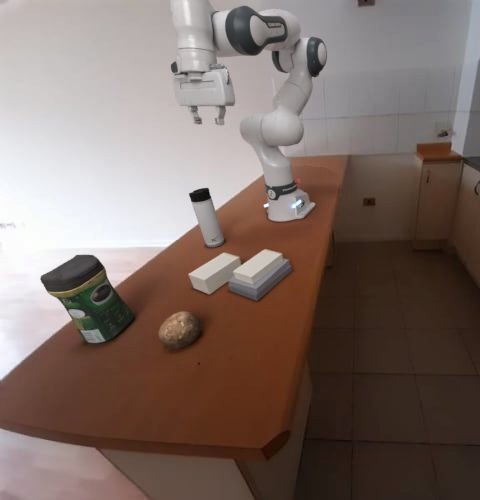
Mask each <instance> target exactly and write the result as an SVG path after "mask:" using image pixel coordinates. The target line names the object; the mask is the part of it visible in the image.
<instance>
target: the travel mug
mask: <svg viewBox="0 0 480 500" xmlns="http://www.w3.org/2000/svg"><path fill="white" fill-rule="evenodd" d="M188 196H189V199H190V202H191V206H192V208H193V211H194V214H195V217H196V221H197V223H198V226H199V228H200V230H201V235H202V237H203V240H204V244H205V246H206V247H207V248H217V247H219V246H223V244H224V243H225V238H224V234H223V231H222V228H221V225H220V221H219V218H218V215H217V211H216V208H215V205H214V202H213V201H214V200H213V199H212V195H211V192H210V188H209V187H202V188H197V189H195V190H193V191H191V192H189V193H188Z"/></svg>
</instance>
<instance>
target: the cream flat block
mask: <svg viewBox="0 0 480 500" xmlns="http://www.w3.org/2000/svg"><path fill="white" fill-rule="evenodd" d="M283 258H284V255H283V253H282V252H278V251H274V250H270V249H267V248H264V249H263V250H261V251H259V252H258V253H257V254H255V255H254V256H252V257H251V258H249V259H248V260H246V261H245V262H244V263H242V265H241V266H240V267H238V268H237V269H235V270H234V271H233V273H234V276H235V279H238V280H241V281H244V282H247V283H250V284H255V283H256V282H257V281H258V280H260V279H261V278H262V277H263V276H265V275H266V274H267V273H268V272H270V271H271V270H272V269H273V268H275V267H276V266H277V265H278V264H280V263H281V262H282V261H283Z"/></svg>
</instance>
